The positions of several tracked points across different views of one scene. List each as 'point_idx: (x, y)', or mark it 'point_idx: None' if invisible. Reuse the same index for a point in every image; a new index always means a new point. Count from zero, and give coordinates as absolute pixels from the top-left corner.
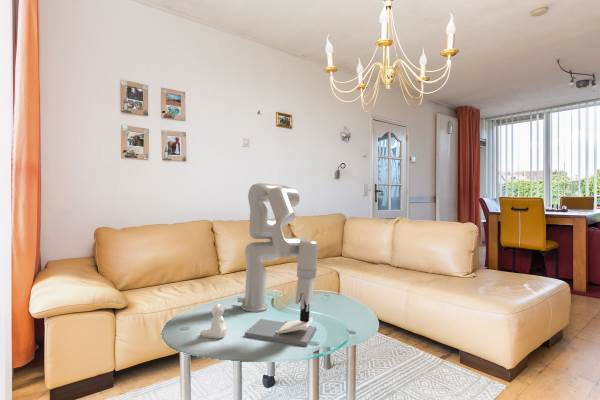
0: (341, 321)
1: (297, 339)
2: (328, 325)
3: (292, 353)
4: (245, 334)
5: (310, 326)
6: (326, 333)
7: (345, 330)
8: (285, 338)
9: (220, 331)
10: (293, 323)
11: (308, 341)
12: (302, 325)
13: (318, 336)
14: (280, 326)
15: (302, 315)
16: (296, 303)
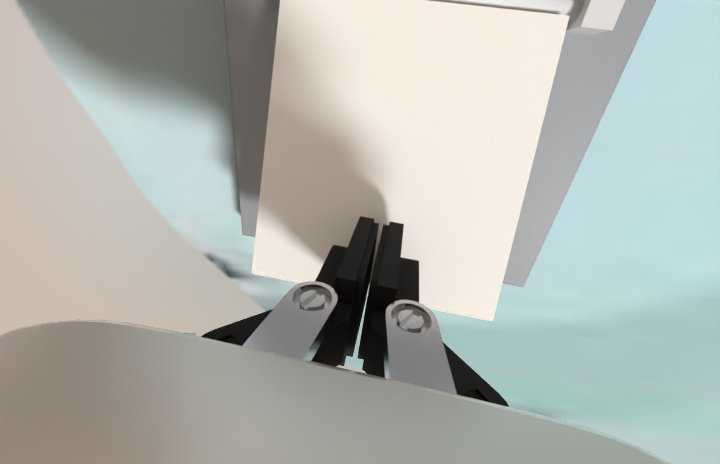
0: (701, 412)
1: (255, 175)
2: (623, 342)
3: (140, 154)
4: None
5: (530, 248)
6: (471, 321)
7: (528, 405)
8: (235, 82)
9: None
10: (428, 126)
11: None
12: (275, 238)
13: None
14: None
15: (323, 272)
16: (21, 338)
